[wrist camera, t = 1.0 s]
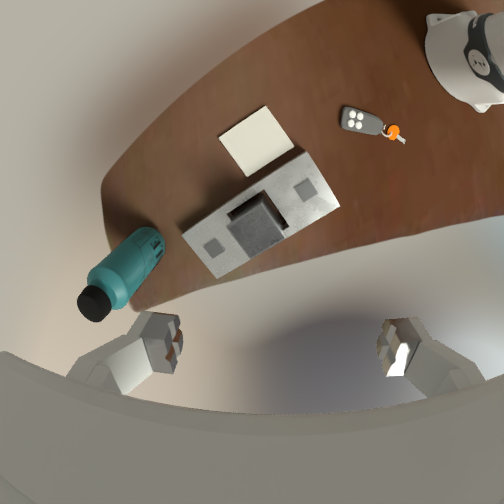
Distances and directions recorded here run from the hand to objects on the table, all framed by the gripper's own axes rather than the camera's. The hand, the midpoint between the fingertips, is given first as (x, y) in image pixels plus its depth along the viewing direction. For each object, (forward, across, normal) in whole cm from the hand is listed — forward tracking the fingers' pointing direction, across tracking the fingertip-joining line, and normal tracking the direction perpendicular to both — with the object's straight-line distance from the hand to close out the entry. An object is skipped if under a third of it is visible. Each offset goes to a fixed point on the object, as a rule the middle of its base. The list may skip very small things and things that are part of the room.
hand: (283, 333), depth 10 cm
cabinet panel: (+31, +2, +5) cm, 32 cm away
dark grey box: (+31, +2, +5) cm, 32 cm away
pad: (+31, +2, -6) cm, 32 cm away
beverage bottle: (+32, +20, +9) cm, 39 cm away
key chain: (+31, -16, -10) cm, 36 cm away
